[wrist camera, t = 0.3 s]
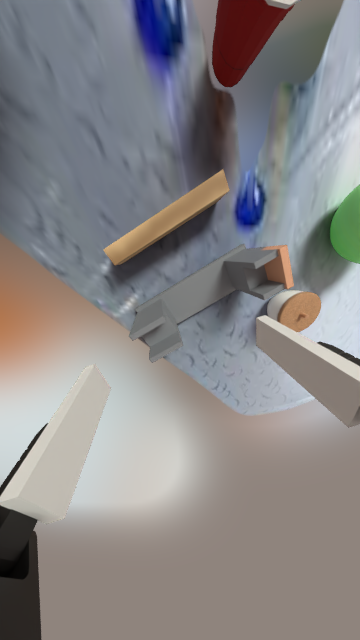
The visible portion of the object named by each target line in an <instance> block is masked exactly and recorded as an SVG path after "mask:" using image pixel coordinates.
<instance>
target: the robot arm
mask: <svg viewBox="0 0 360 640" xmlns="http://www.w3.org/2000/svg"><path fill="white" fill-rule="evenodd" d="M256 345H257V346H258V347H259V348H260V349H261V350H262V351H263V352H264V353H265V354H267V355H268V356H269V357H270V358H271V359H272V360H273V361H274V362H276V363H277V364H278V365H279V366H280V367H281V368H282V369H283V370H284V371H286V372H287V373H288V374H289V375H290V376H291V377H292V378H293V379H295V380H296V381H297V382H298V383H299V384H300V385H301V386H302V387H303V388H305V389H306V390H307V391H308V392H309V393H310V394H311V395H312V396H314V397H315V398H316V399H317V400H318V401H319V402H320V403H321V404H323V405H324V406H325V407H326V408H327V409H328V410H329V411H330V412H332V413H333V414H334V415H335V416H336V417H337V418H338V419H339V420H340V421H342V422H343V423H344V424H345V425H346V426H347V427H348V428H349V427H352V426H355V425H358V424H360V359H358V358H355V357H354V356H352V355H350V354H348V353H345V352H344V351H342V350H340V349H338V348H336V347H334V346H332V345H329V344H326V343H323V342H317V343H316V342H314V341H312V340H310V339H308V338H307V337H305V336H303V335H301V334H299V333H297V332H295V331H294V330H292V329H290V328H288V327H286V326H284V325H282V324H281V323H279V322H277V321H275V320H273V319H271V318H269V317H268V316H266V315H264V316H261V317H258V318H256ZM110 389H111V387H110V386H109V384H108V383H107V381H106V380H105V378H104V377H103V375H102V374H101V372H100V371H99V369H98V368H97V366H96V365H91V366H87V367H85V368H84V370H83V371H82V373H81V375H80V376H79V378H78V379H77V381H76V382H75V384H74V385H73V387H72V388H71V390H70V391H69V393H68V394H67V396H66V397H65V399H64V400H63V402H62V403H61V405H60V407H59V408H58V410H57V411H56V413H55V414H54V416H53V417H52V419H51V420H50V422H49V423H47V424H46V425H45V426H44V427H43V428H42V429H41V430H40V431H39V432H38V434H36V436H35V437H34V439H33V440H32V441H31V443H30V444H29V446H28V449H27V450H25V452H24V453H23V455H22V456H21V458H20V460H19V461H18V462H17V463H16V465H15V467H14V468H13V469H12V471H11V472H10V474H9V475H8V476H7V478H6V479H5V481H4V482H3V484H2V485H1V487H0V640H41V621H40V598H39V574H38V551H37V535H36V532H35V531H33V529H34V527H35V525H36V523H37V520H38V521H41V522H43V523H45V524H49V523H52V522H55V521H58V520H61V519H64V518H65V516H66V513H67V510H68V507H69V504H70V501H71V499H72V496H73V493H74V491H75V488H76V485H77V482H78V479H79V477H80V474H81V471H82V468H83V465H84V463H85V460H86V457H87V454H88V451H89V449H90V446H91V443H92V440H93V437H94V435H95V432H96V429H97V426H98V423H99V420H100V418H101V415H102V412H103V409H104V406H105V404H106V401H107V398H108V395H109V392H110Z"/></svg>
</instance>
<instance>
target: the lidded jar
mask: <svg viewBox="0 0 360 640" xmlns="http://www.w3.org/2000/svg"><path fill="white" fill-rule="evenodd" d="M320 309H321V301H320V298H319V297H318V296H317V295H316V294H314V293H311V292H304V291H298V290H289V291H284V292H281V293H279V294H277V295H276V296H274V297H273V298H271V299H270V301H269V302H268V305H267V314H268V317H269V318H271V319H273V320H275V321H277V322H279V323H281V324H282V325H284V326H286V327H288V328H290V329H292V330H294V331H295V332H300V331H302V330H304V329H306V328H307V327H309V326H310V325H311V324H312V323H313V322H314V321H315V319H316V318H317V316H318V314H319V312H320Z"/></svg>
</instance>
